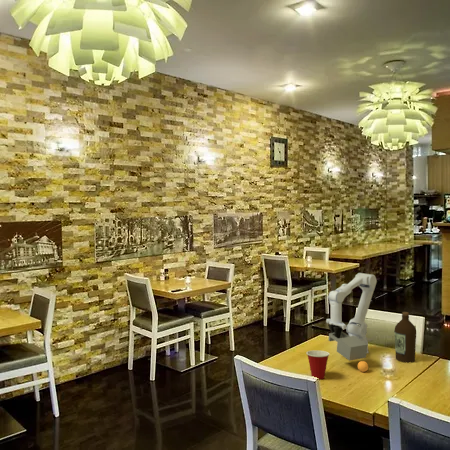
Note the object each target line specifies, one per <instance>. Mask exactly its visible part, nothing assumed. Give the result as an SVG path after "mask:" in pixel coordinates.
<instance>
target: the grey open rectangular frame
mask: <svg viewBox="0 0 450 450" xmlns="http://www.w3.org/2000/svg"><path fill="white" fill-rule="evenodd" d="M328 341H329V342H334V341H335V342H337V343H336V344H337V345H336V352H337V353H338V354H339V355H341V356H342V357H344V358H345V359H347V360H348V361H353V360H354V361H355V360H360V359H366V358H367V354H368V353H367V344H366V343H364V342H363V341H361V340H360V339H358V338H356V337H355V336H351V337H350V336H349V334H348V333H346V332H343V331H342V332H341V335H340V338H337V337H335V333H331V332H330V333H328Z"/></svg>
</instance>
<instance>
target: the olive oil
mask: <svg viewBox="0 0 450 450" xmlns="http://www.w3.org/2000/svg"><path fill="white" fill-rule="evenodd" d="M401 313H402V314H401V320H399V322H397V323H396V324H395V327H394V332H393V333H394V347H395V349H394V351H395V360H396V361H398V362H401V363H406V362H407V364H408V363H409V362H411V363H414V362H415V361H416V344H417V329H416V326H415V325H414V323H412V322H411V321H410V315H409V314H410V313H409V312H407V311H402V312H401ZM409 364H410V363H409Z"/></svg>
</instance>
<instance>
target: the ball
mask: <svg viewBox="0 0 450 450" xmlns="http://www.w3.org/2000/svg"><path fill="white" fill-rule="evenodd" d="M357 369H358V371H360V372H362V373H364V372H367V371H368V370H369V364H368V363H367V362H366V361H364V360H361V361H359V362H358V363H357Z"/></svg>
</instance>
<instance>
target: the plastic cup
mask: <svg viewBox="0 0 450 450" xmlns="http://www.w3.org/2000/svg"><path fill="white" fill-rule="evenodd" d="M305 354H306V356H307V360H308V363H309V364H308V365H309V369H310V373H311V377H312V376H314V377H317V378H319V380H321V381H322V380H323V379H325V375H326V370H327V364H328V358H329V356H330V352H328V351H326V350H320V349H319V350H313V349H312V350H308V351H306V353H305ZM319 380H318V381H319Z"/></svg>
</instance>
